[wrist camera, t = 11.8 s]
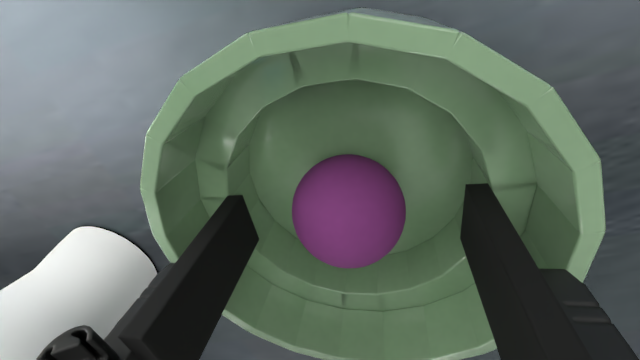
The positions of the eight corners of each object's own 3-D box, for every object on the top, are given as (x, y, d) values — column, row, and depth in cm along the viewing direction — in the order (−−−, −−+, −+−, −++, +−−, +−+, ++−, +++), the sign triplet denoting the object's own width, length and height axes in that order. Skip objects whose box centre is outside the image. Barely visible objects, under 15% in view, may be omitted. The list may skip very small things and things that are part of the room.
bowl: (262, 268, 21) (226, 352, 16) (173, 44, 13) (47, 71, 8) (492, 273, 17) (537, 384, 12) (552, -33, 9) (744, -68, 4)
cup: (143, 213, 20) (-253, 571, 7) (191, 305, 25) (10, 597, 13) (26, 207, 22) (-437, 478, 10) (94, 293, 28) (-141, 535, 15)
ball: (315, 218, 17) (292, 291, 12) (297, 140, 14) (260, 199, 10) (403, 217, 15) (411, 297, 11) (401, 131, 13) (409, 194, 9)
